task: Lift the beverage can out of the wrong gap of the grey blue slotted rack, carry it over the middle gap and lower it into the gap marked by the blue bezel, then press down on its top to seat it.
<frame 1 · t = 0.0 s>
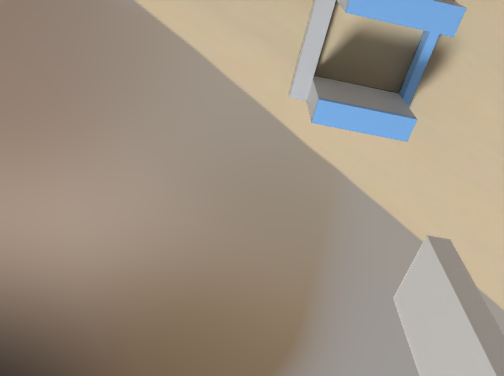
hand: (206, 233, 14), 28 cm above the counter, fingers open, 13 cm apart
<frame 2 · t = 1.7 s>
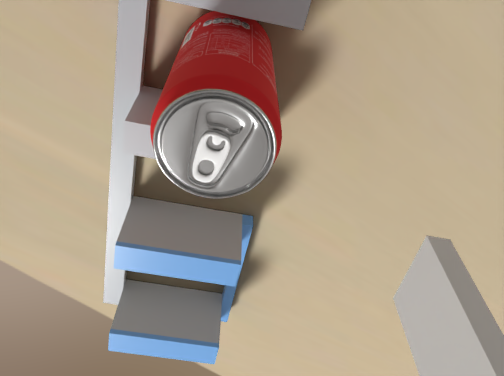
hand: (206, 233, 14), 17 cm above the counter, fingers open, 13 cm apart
beverage can: (227, 49, 28), on the counter
grey blue slotted rack: (194, 167, 32), on the counter
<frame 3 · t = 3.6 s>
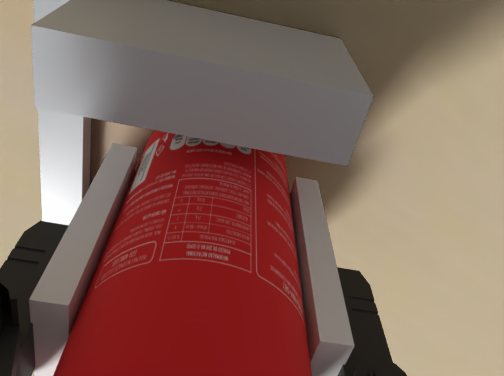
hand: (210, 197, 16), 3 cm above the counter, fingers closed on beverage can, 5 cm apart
beverage can: (217, 153, 18), on the counter, touching gripper
grey blue slotted rack: (171, 305, 22), on the counter
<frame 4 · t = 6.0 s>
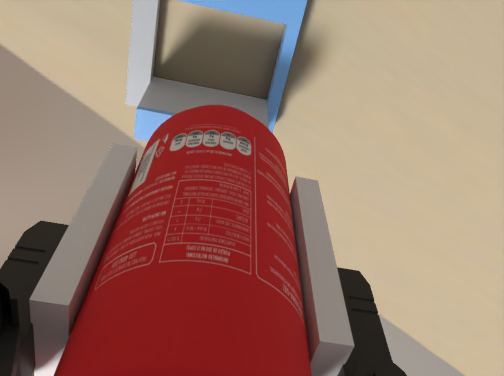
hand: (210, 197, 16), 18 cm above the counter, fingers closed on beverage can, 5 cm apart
beverage can: (217, 154, 18), point 15 cm above the counter, touching gripper
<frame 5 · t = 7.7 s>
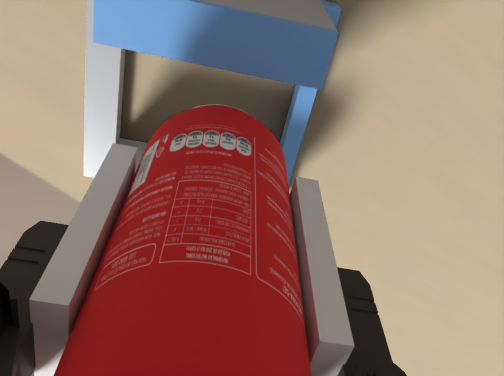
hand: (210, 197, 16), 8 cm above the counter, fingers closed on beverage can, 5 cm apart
beverage can: (217, 154, 18), point 5 cm above the counter, touching gripper
when the fingers open (4 cm above the counter, at t = 8.9 s): beverage can drops 1 cm, on the counter.
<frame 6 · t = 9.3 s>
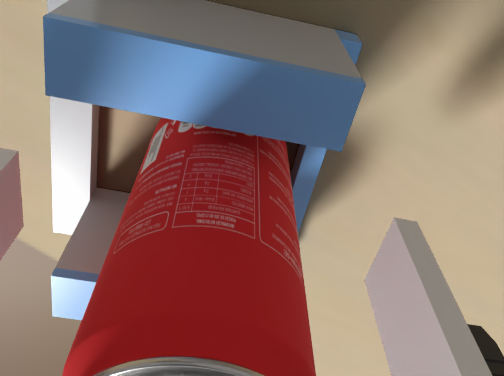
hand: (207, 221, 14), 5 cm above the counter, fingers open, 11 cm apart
beverage can: (221, 139, 19), on the counter
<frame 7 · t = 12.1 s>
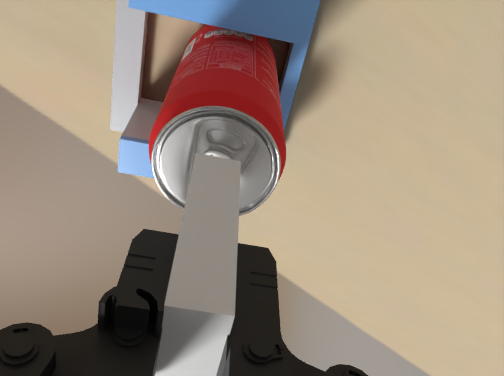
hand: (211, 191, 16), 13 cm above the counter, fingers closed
beverage can: (230, 60, 27), on the counter
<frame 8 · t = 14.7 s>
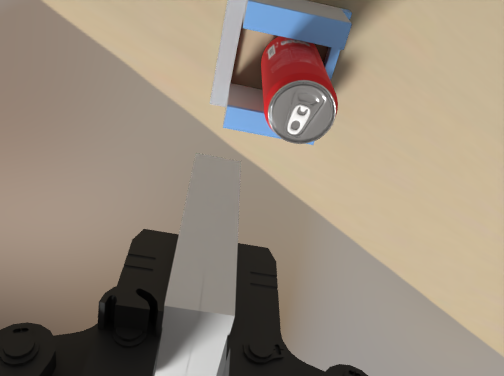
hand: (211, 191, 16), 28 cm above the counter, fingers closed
beverage can: (289, 58, 42), on the counter
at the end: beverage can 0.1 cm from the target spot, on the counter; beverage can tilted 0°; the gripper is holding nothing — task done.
